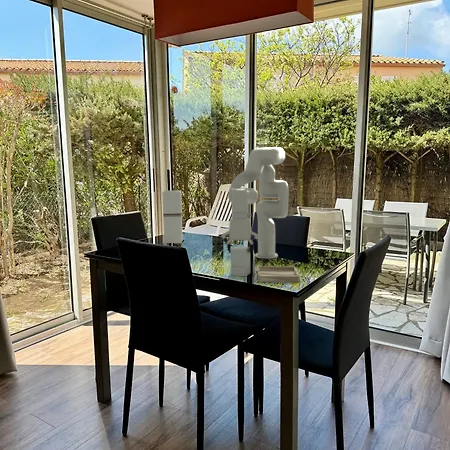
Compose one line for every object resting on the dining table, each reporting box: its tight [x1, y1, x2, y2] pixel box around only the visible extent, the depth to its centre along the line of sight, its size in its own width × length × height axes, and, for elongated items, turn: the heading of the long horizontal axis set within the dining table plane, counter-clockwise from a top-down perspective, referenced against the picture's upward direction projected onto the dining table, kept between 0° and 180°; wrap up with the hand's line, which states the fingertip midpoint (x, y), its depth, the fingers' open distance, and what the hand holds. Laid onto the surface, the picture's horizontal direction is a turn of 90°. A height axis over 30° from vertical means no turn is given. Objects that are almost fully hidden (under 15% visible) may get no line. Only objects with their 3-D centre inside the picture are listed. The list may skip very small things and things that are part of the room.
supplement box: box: [230, 246, 251, 277], centre depth 195 cm, size 7×7×13 cm
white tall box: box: [162, 190, 183, 245], centre depth 268 cm, size 11×11×35 cm
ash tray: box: [256, 266, 301, 283], centre depth 191 cm, size 18×18×2 cm
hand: (239, 252), depth 194 cm, fingers open, 9 cm apart
